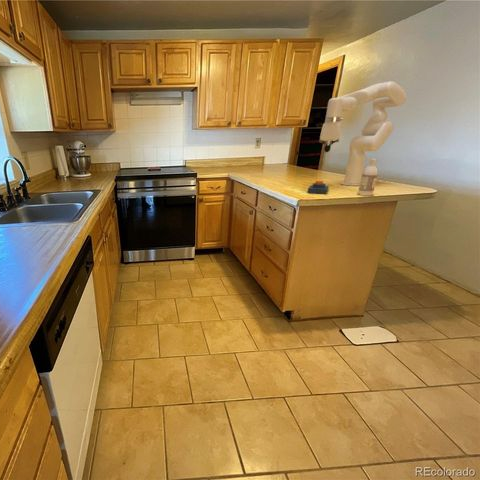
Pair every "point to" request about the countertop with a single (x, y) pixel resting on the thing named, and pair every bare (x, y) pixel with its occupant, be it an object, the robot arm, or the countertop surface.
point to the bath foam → (368, 179)
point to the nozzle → (319, 182)
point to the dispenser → (318, 188)
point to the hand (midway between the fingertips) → (326, 152)
